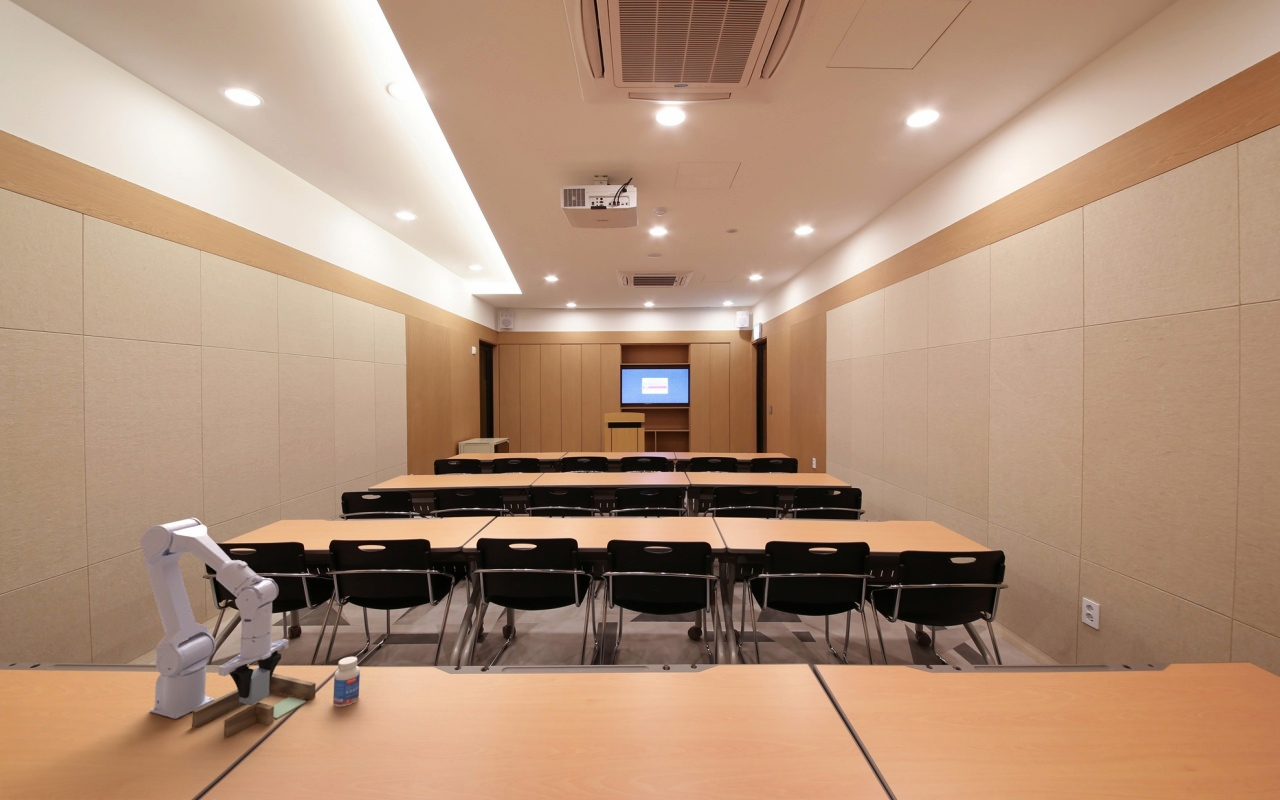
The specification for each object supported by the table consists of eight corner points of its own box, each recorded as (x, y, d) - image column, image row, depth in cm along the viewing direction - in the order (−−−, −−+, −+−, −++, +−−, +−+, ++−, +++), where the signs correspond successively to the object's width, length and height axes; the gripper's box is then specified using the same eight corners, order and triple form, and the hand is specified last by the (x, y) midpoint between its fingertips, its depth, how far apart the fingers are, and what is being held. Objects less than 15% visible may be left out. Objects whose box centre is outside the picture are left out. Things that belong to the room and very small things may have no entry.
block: (239, 701, 115) (240, 675, 116) (257, 692, 119) (257, 667, 119) (251, 705, 114) (252, 678, 114) (268, 695, 118) (269, 670, 118)
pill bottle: (347, 709, 117) (348, 667, 117) (327, 706, 118) (329, 664, 118) (364, 696, 122) (365, 656, 122) (345, 693, 123) (346, 654, 124)
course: (192, 726, 110) (192, 710, 110) (270, 686, 126) (270, 672, 126) (240, 741, 105) (240, 724, 105) (315, 697, 121) (315, 683, 121)
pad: (259, 714, 114) (259, 713, 114) (289, 698, 121) (289, 696, 121) (277, 719, 113) (277, 717, 113) (305, 702, 119) (306, 700, 119)
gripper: (234, 649, 109) (232, 712, 109) (298, 623, 123) (296, 679, 122) (213, 645, 111) (210, 706, 111) (277, 620, 125) (275, 674, 125)
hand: (254, 691), depth 117 cm, fingers closed on block, 4 cm apart
